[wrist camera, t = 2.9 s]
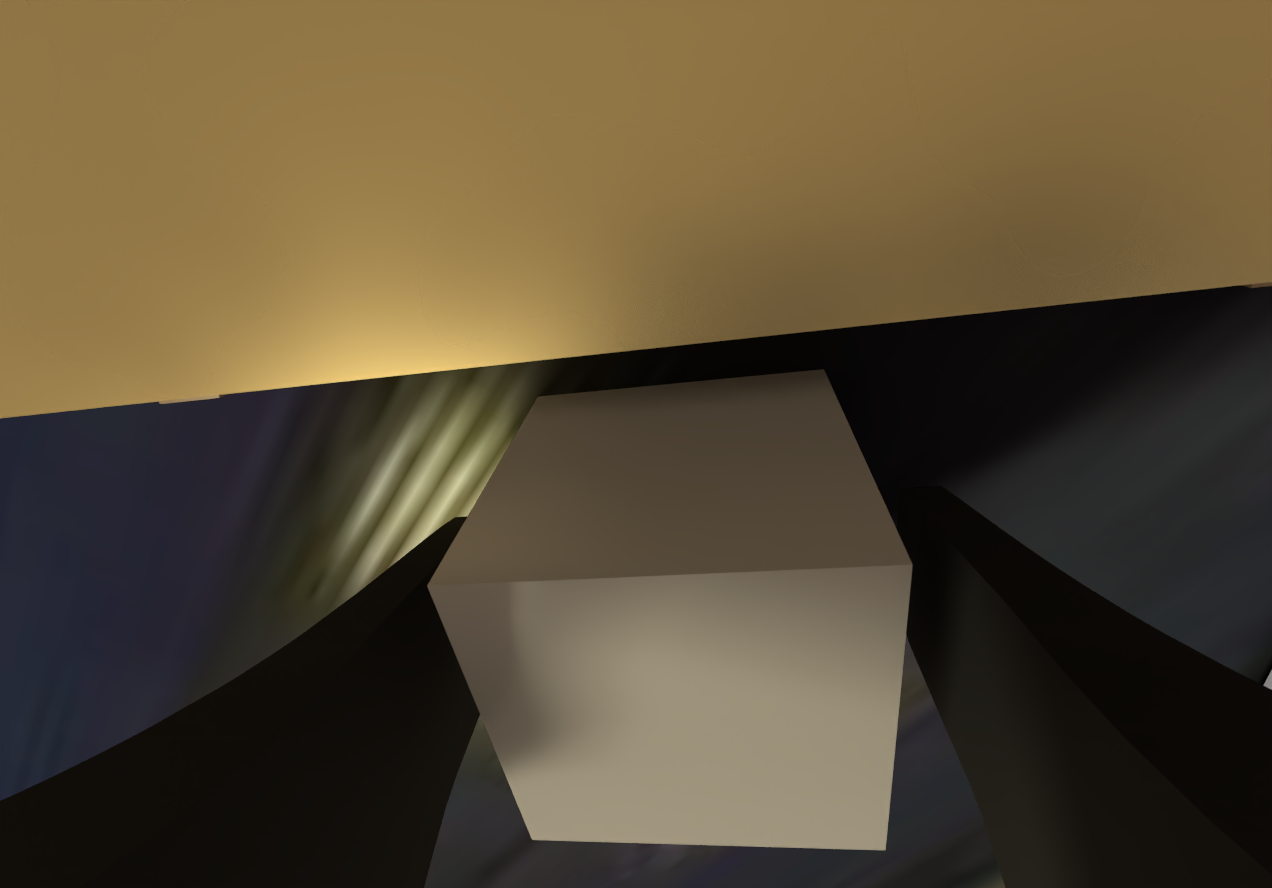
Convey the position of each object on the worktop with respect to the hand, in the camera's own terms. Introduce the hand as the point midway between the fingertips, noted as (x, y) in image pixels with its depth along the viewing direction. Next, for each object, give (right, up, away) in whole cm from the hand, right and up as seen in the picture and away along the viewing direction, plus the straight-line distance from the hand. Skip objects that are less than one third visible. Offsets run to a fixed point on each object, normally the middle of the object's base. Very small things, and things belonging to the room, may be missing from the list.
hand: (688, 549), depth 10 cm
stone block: (0, +1, +1) cm, 2 cm away
